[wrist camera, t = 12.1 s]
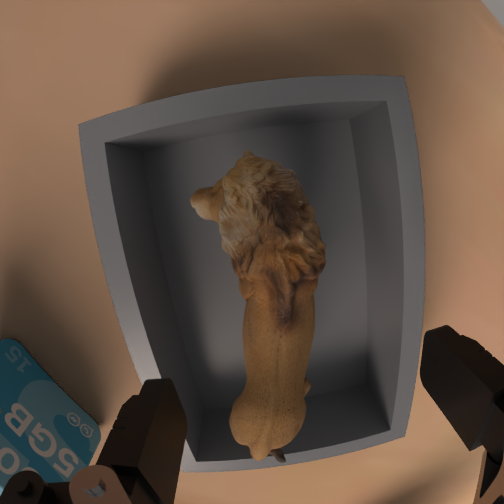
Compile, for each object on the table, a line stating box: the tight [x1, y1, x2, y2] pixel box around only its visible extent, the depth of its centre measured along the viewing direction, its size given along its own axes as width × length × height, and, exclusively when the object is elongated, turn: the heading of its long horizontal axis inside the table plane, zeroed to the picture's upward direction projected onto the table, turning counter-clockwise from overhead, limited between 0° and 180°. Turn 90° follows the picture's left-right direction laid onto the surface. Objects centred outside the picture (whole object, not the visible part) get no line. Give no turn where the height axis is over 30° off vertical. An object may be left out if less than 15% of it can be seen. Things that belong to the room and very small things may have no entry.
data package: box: [0, 339, 101, 496], centre depth 16 cm, size 12×4×12 cm, turn 39°
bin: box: [78, 75, 425, 472], centre depth 16 cm, size 20×14×6 cm
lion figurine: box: [190, 150, 326, 463], centre depth 13 cm, size 15×5×9 cm, turn 7°
